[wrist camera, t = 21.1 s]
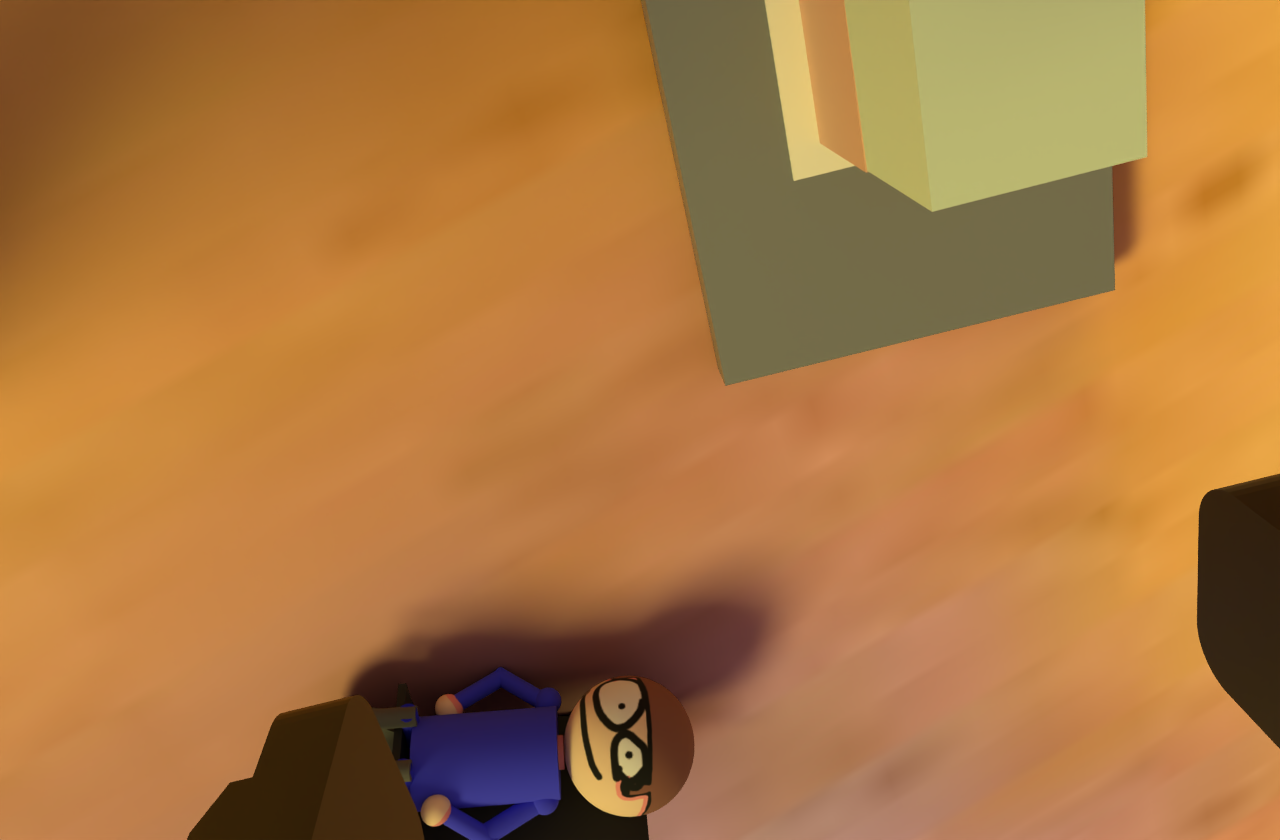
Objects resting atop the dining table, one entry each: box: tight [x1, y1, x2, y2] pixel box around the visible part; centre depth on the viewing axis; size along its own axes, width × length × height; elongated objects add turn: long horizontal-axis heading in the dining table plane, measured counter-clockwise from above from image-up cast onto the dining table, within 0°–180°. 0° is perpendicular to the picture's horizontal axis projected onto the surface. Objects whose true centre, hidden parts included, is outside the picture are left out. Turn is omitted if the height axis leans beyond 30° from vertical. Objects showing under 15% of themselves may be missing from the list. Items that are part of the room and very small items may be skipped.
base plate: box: [641, 0, 1115, 386], centre depth 31 cm, size 14×20×2 cm
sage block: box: [844, 0, 1147, 212], centre depth 24 cm, size 5×5×5 cm
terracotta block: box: [799, 0, 868, 173], centre depth 28 cm, size 5×5×5 cm
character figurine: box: [371, 667, 694, 840], centre depth 39 cm, size 8×7×15 cm
